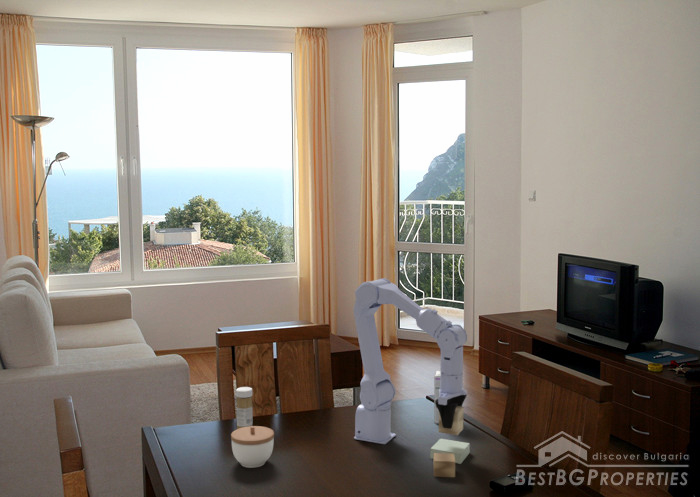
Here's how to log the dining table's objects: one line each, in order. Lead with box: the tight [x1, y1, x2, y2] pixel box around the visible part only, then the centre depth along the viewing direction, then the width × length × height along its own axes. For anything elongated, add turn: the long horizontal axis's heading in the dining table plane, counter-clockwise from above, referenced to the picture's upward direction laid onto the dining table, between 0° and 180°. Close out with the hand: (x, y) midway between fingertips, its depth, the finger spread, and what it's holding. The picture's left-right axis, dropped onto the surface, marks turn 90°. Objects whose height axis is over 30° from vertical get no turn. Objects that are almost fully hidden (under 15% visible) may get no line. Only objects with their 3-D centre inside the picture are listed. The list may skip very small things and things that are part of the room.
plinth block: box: [430, 438, 471, 465], centre depth 179 cm, size 8×8×3 cm
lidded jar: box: [230, 425, 275, 469], centre depth 173 cm, size 11×11×9 cm
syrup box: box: [433, 370, 440, 424], centre depth 205 cm, size 6×6×14 cm
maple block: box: [438, 405, 465, 436], centre depth 178 cm, size 5×5×6 cm
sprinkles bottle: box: [235, 386, 254, 430], centre depth 192 cm, size 5×5×13 cm
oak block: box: [432, 453, 456, 478], centre depth 168 cm, size 5×5×4 cm
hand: (450, 424), depth 178 cm, fingers closed on maple block, 5 cm apart
